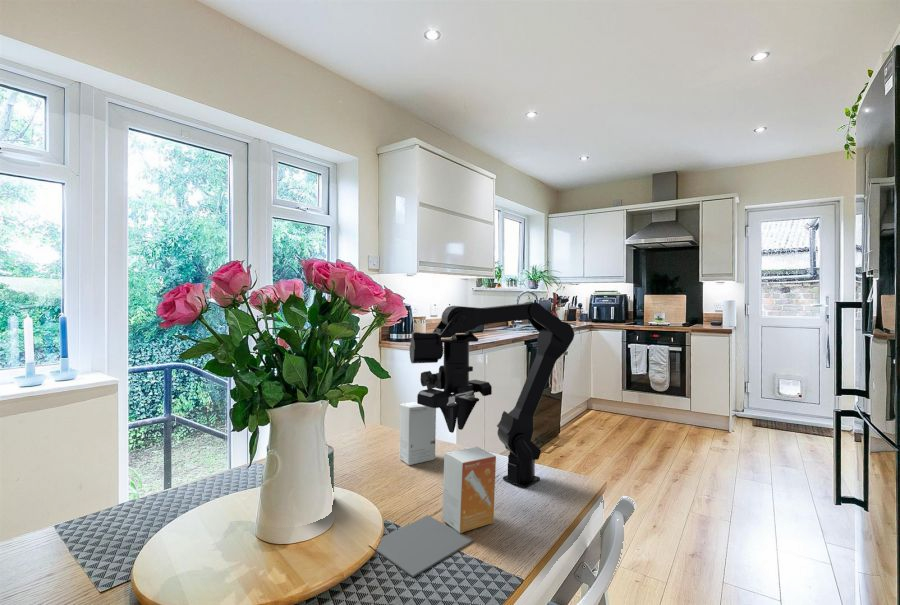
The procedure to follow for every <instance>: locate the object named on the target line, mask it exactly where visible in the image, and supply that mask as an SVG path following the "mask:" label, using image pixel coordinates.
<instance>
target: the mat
mask: <svg viewBox="0 0 900 605" xmlns="http://www.w3.org/2000/svg"><path fill="white" fill-rule="evenodd" d="M381 537H382V539H381V542H380V544H379V546H378V548H377V550H376V551H375V552H376V553H378V554H379V555H380V556H382V557H383V558H385V559H386V560H387V561H389V562H390V563H392V564H393V565H394V566H396V567H397V568H398V569H400V570H401V571H403V572H404V573H406V574H407V575H409V576H410V577H411V578H414V577H416V576H418V575H419V574H422V573H423V572H424V571H426V570H428V569H430V568H431V567H433V566H435V565H436V564H438V563H440V562H441V561H443V560H445V559H446V558H448V557H449V556H452V555H453V554H455V553H457V552H458V551H460V550H461V549H463V548H464V547H465V548H466V546H468V545H470V544H471V543H473V542H474V539H473V538H471V537H469V536H467V535H465V534H464V533H459V532H458V531H456V530H455V529H454V528H452V527H451V526H450V525H448V524H446V523H443V522H441V521H439V520H438V519H436V518H434V517H432V516H431V515H425V516H423V517H421V518H419V519H417V520H414V521H413V522H411V523H408V524H407V525H405V526H402V527H400V528H399V529H396V530H395V531H392V532H390V533H388V534H385V535H383V536H381Z"/></svg>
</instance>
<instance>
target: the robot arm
mask: <svg viewBox="0 0 900 605" xmlns="http://www.w3.org/2000/svg"><path fill="white" fill-rule="evenodd" d="M524 320H527V322H529V324H530V325H531V327H532V328H533V329H535V330H536V331H537V332H538V335H537V340H536V342H537V347H536V350H537V352H536V355H535V358H534V360H533V363H532V364H531V367H530V370H529V372H528V375H527V377H526V379H525V382H524V384H523V387H522V389H521V392H520V394H519V396H518V399H517V401H516V404H515V405H514V408H513V409H512V410H511V411H509V412H507V411H505V410H504V411H502V414H501V417H500V420H499V422H498V423H497V425H496V427H497V428H498V429H497V436H498V439H499V441H500V442H501V443H502V444H503V445H504V448H505V449H506V450H507V451H509V454H508V456H507V459H508V460H507V461H508V462H507V474H506V475H504V476H503V477H502V480H503V481H506V482H508V483H511V484H514V485H516V486H518V487H521V488H523V489H524V488H527V487H529V486H532V485H533V484H535V483H537V482H539V481H541V477H540V476H538V475H535V472H536V471H535V467H536V466H535V464H536V462H535V461H536V460H537V461H538V460H539V459H540V457H541V456H540V455H541V453H542V450H541V449H540V448H539V447H538V446H537V445H536V444H535V443H534V442H533V441H532V440H533V435H534V430H535V429H534V426H535V424H534V421H535V420H534V416H535V414H536V411H537V408H538V406H539V404H540V402H541V399H542V397H543V394H544V392H545V390H546V387H547V384H548V382H549V380H550V377H551V374H552V372H553V370H554V368H555V365H556V363H557V361H558V359H559V358H561V357H562V355H564V354H565V353H566V352H567V350H568V349H569V347H570V345H571V344H572V342H573V341H574V339H575V331H574V329H573V327H572V325H571V324H570V323H568V322H566V321H563V320H561V319H560V318H559V317H558V316H556V315H554V314H553V313H551V312H550V311H549V310H547V309H546V308H545V307H544V306H542V305H541V303H539V302H535V301H525V302H524V303H517V304H516V303H515V304H514V303H513V304H504V305H498V306H497V305H496V306H487V307H475V306H474V307H472V306H463V305H462V306H461V305H460V306H459V305H451V306H450V305H449V306H447V307H446V308H445V309H444V310H443V311H442V314H441V320H440V321H439V323H438V324H437V326H436V327H435V328H434V329H433V331H432V332H419V331H413V332H412V333H411V338H410V339H411V340H410V345H409V347H408V348H409V359H410V362H411V364H428V363H429V364H433V363H436V364H437V363H438V362H439V360H442V359H443V365H439V367H438V372H435V373H432V371H431V370H426V371H423V372H421V373H420V384H421V386H422V387H423V388H424V387H426V388H427V389H424V390H423V389H422V390H420V391H419V392H418V393H417V396H416V398H417V399H416V400H417V401H416V402H417V404H420V405H424V406H428V407H431V408H436V409H440V410H441V413H442V416H443V418H444V421H445V423H446V427H447V429H448V432H449V433H452V434H453V433H454V432H455V430H456V429H455V428H456V424H457V429H458V430H460V431H462V430H463V429H464V428H465V425H466V423H467V421H468V419H469V417H470V415H471V413H472V412H473V409H474V408H475V407H476V405H477V403H478V402H479V401H480V398H478V397H476V396H475V393H480V394H481V396H483V397H487V396H491V395H492V394H493V393H492V392H493V390H492V387H493V386H492V385H491V384H490V382H489V381H485V380H484V381H483V380H478V379H471V380H470V372H473V371H474V366H472V365H470V343H475V342H476V343H477V342H479V337H477V336H475V334H474V333H473V332H472V331H471V330H475V329H477V328H480V327H482V326H485V325H489V324H496V323H497V324H498V323H507V322H516V321H524Z"/></svg>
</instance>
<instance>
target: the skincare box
mask: <svg viewBox="0 0 900 605" xmlns="http://www.w3.org/2000/svg"><path fill="white" fill-rule="evenodd" d="M436 416H437V408H431V407H428V406H424V405H420V404H417V401H411V402H403V403H400V404H399V441H398V442H399V446H398V447H399V448H398V449H399V450H398V451H399V452H398V455H399V456H398V459H399V460H401V461H402V462H403V463H404V464H406V465H407V466H412V465H417V464H420V463H424V462H430V461H434V459H436V433H437V431H436V428H437V426H436V423H437V419H436V418H437V417H436Z"/></svg>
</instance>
